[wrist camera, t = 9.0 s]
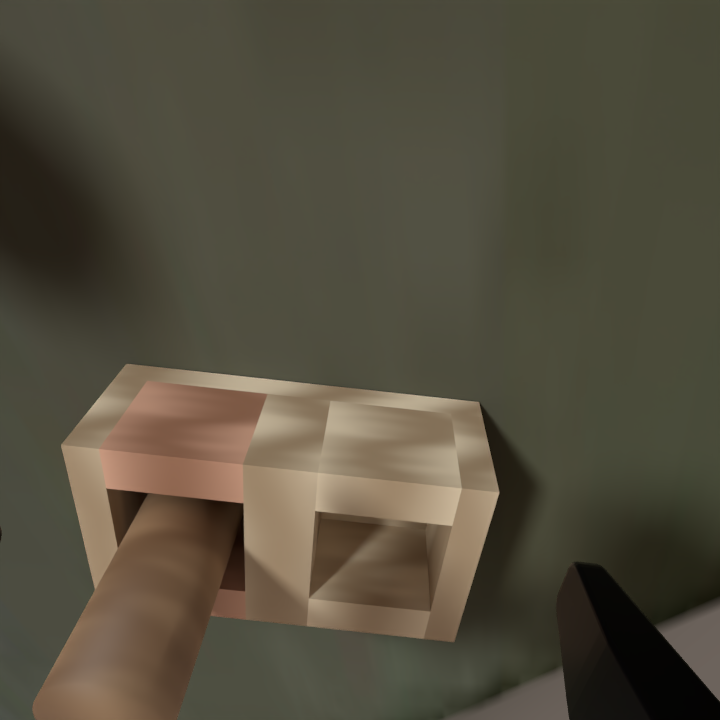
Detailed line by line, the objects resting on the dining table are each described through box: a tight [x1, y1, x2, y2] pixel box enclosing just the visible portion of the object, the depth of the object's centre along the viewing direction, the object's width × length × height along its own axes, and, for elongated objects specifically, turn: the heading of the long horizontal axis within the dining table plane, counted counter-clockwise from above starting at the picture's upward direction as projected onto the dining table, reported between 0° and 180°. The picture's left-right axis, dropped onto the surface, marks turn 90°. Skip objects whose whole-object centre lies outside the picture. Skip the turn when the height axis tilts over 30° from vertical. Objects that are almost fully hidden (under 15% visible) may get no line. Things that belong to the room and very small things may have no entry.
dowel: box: [33, 493, 244, 720], centre depth 19 cm, size 4×4×10 cm
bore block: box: [61, 364, 499, 642], centre depth 22 cm, size 14×8×5 cm, turn 85°
